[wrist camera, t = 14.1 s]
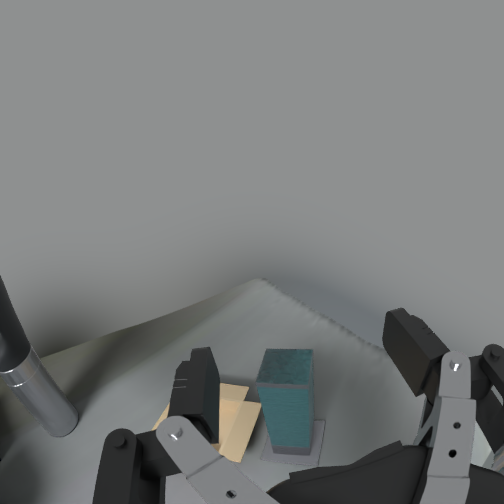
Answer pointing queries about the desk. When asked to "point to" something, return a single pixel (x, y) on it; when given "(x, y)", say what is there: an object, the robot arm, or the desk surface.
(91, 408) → the desk surface
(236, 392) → the carton
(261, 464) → the desk surface
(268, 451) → the mat
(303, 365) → the tall box
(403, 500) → the robot arm
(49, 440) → the desk surface
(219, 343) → the desk surface
